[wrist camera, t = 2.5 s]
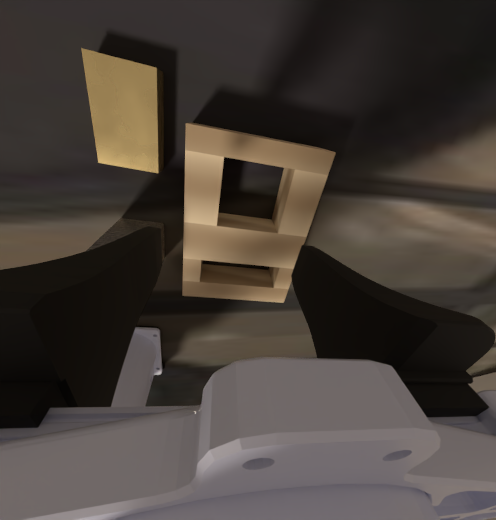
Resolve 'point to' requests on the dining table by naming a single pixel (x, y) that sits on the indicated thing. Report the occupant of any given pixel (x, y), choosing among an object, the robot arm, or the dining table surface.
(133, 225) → the square bit
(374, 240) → the dining table surface
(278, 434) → the robot arm
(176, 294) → the dining table surface
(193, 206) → the socket block
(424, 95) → the dining table surface
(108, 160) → the tan rectangular block
